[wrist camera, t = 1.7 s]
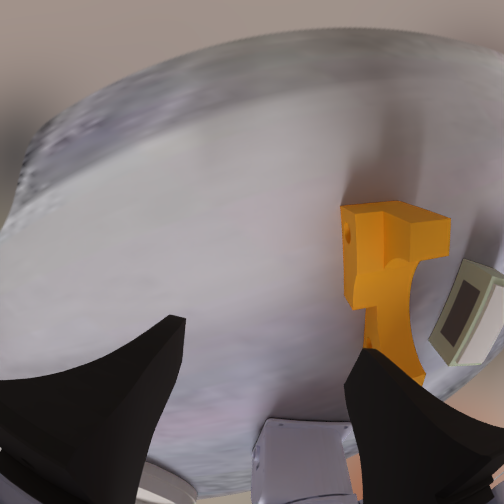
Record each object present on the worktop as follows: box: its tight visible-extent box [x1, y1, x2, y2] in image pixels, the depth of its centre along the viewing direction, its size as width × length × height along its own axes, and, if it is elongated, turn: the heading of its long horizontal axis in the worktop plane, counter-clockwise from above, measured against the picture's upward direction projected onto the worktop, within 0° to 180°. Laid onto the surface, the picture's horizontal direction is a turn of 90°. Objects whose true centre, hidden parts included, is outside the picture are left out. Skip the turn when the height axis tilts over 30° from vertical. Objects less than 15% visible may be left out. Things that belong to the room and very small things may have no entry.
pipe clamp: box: [340, 201, 451, 386], centre depth 16 cm, size 12×4×6 cm, turn 8°
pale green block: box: [428, 258, 504, 366], centre depth 17 cm, size 5×8×4 cm, turn 168°
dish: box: [135, 461, 198, 504], centre depth 29 cm, size 22×22×5 cm
